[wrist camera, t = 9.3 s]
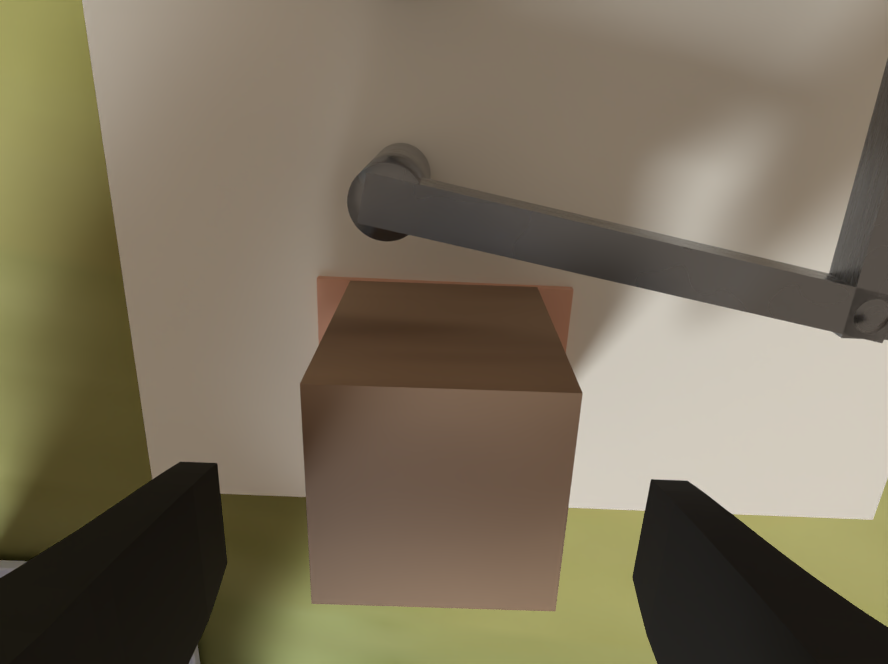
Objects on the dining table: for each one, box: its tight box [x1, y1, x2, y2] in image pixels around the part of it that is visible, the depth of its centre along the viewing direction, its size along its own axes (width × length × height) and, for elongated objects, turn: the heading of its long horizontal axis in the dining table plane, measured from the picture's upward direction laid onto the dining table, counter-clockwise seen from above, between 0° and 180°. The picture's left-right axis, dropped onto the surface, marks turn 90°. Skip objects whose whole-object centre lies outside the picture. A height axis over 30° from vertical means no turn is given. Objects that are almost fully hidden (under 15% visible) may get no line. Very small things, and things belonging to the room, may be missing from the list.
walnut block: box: [300, 281, 583, 611], centre depth 12 cm, size 4×4×5 cm
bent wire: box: [347, 59, 888, 343], centre depth 11 cm, size 8×9×4 cm
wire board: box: [82, 0, 888, 520], centre depth 13 cm, size 20×18×2 cm
